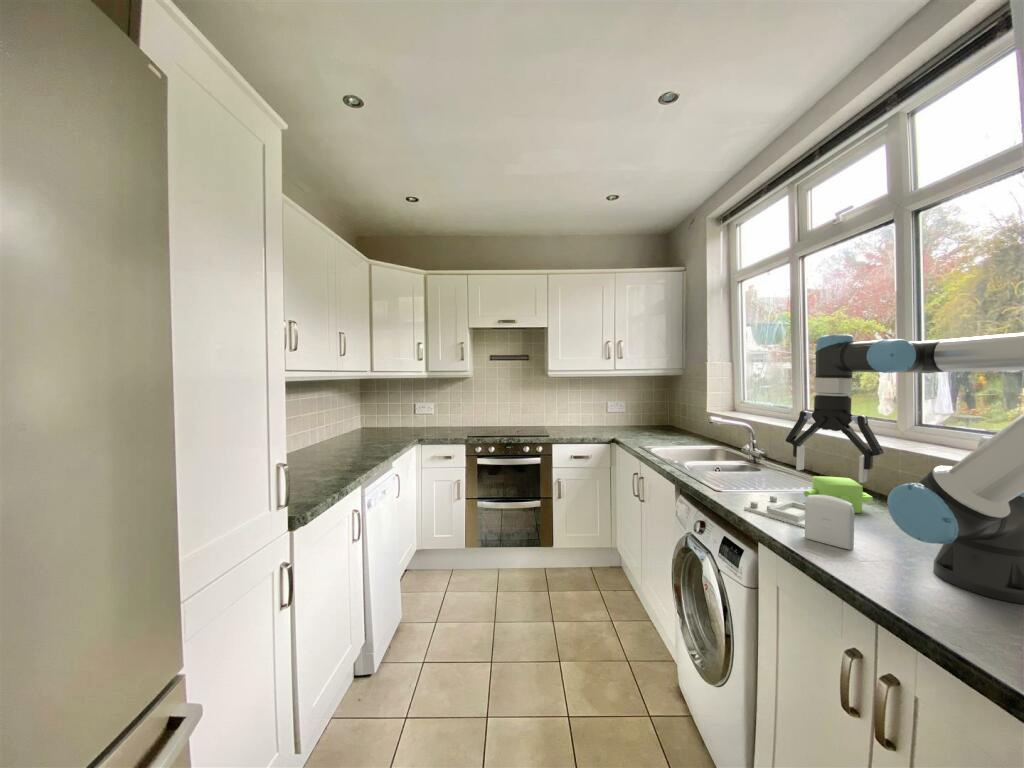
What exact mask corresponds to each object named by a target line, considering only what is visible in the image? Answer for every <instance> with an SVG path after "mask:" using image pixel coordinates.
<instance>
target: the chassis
mask: <svg viewBox="0 0 1024 768" xmlns="http://www.w3.org/2000/svg"><path fill="white" fill-rule="evenodd" d="M743 510H745V511H747V512H750V511H751V513H754V514H758V515H760V514H761V515H760V516H763V515H764V516H763V517H767V518H770V517H771V519H773V518H774V520H777V519H778V521H780V520H781V522H783V521H784V523H787V522H788V523H787V524H790V523H791V524H790V525H793V524H794V526H797V525H798V526H797V527H800V526H801V528H803V527H804V529H805V503H802V502H798V501H794V500H789V501H786V502H782V501H779V500H778V497H777V496H769V498H767V499H765V500H763V501H759V502H755V501H751V502H750V504H749V505H745V506H744V508H743Z"/></svg>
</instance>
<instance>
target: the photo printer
mask: <svg viewBox="0 0 1024 768" xmlns="http://www.w3.org/2000/svg"><path fill="white" fill-rule="evenodd" d="M804 504H805V528H804V538H805V539H807V540H809V541H815V542H818V543H822V544H826V545H829V546H833V547H837V548H840V549H845V550H849V551H851V550H853V549H854V548H855V513H854V509H853V505H852V504H851V503H849V502H847V501H845V500H842V499H839V498H836V497H832V496H827V495H808V496H807V497H806V499H805V503H804Z"/></svg>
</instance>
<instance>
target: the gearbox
mask: <svg viewBox="0 0 1024 768" xmlns="http://www.w3.org/2000/svg"><path fill="white" fill-rule="evenodd" d="M803 495H804V497H806V498H807V496H808V495H827V496H832V497H836V498H839V499H842V500H845V501H847V502H849V503H851V504H852V505H853V509H854V514H855V513H857V514H859V513H861V514H862V513H863V503H873V500H874V498H873V496H872V495H870V494H868V493H867V492H864V491H863V485H861V484H860V482H857V481H856V480H853V479H852V478H849V477H840V476H839V477H838V476H837V477H836V476H822V475H820V476H817V475H814V476H812V489H808V490H805V491H803Z"/></svg>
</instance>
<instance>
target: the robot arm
mask: <svg viewBox="0 0 1024 768" xmlns="http://www.w3.org/2000/svg"><path fill="white" fill-rule="evenodd" d="M854 338H855V337H854V336H853V335H851V334H832V335H831V334H827V335H821V336H819V337H818V338H817V340H816V347H815V352H814V353H815V374H814V375H815V376H814V391H813V392H814V393H815V395H814V397H813V398H814V401H813V412H811V411H809V410H801V411H800V412H799V417H798V419H797V420H796V422H795V424H794V426H793V427H792V429H791V431H790V432H789V434H788V435H787V436H786V438H785V442H786V443H789V444H791V445H792V447H793V448H792V449H793V451H792V456H793V458H796V465H795V466H796V467H795V468H796V469H795V470H796V471H802V470H804V469H805V455H806V453H805V452H806V446H805V445H803V444H804V443H805V442H806V441H807V440H808V439H810V438H811V437H812V436H813V435H814V434H815V433H816V432H818V431H819V430H822V431H824V430H826V431H828V430H831V431H834V432H839V431H840V432H841V433H843V434H844V435H845V436H846V437H847V438H848V440H850V442H852V444H853V445H854V446H855V447H856V448H857V449H858V451H860V452H861V453H862V455H859V459H858V460H859V461H858V463H859V464H858V466H859V467H858V483H862V484H863V483H866V482H867V481H868V471H871V470H872V469H873V461H874V456H881V455H883V454H884V450H883V448H882V446H881V445H880V443H879V441H878V440H877V438H876V435H875V434H874V432H873V430H872V429H871V427H870V426H869V422H868V421H869V420H868V416H867V415H865V414H863V415H853V414H852V396H850V395H852V392H853V391H852V387H853V373H884V374H888V373H889V374H890V373H892V374H893V373H916V374H934V373H952V372H954V373H955V372H959V373H960V372H964V373H965V372H1002V371H1003V372H1005V371H1008V372H1011V371H1016V372H1017V371H1024V332H1017V333H1016V332H1015V333H1004V334H1003V333H1002V334H993V335H992V334H991V335H981V336H971V337H968V336H967V337H959V338H947V339H934V340H933V339H931V340H921V341H920V340H919V341H918V340H917V341H916V340H915V341H914V340H913V341H912V340H910V341H908V340H906V339H903V338H883V339H878V340H877V339H876V340H868V341H867V340H866V341H865V340H863V341H855V339H854ZM811 418H812V419H813V420H814V423H813V424H811V425H810V427H809V428H808V429H806V430H805V431H804V432H803V433H802V434H801V435H800V436H799V434H800V433H801V431H802V429H804V427H805V425H806V424H807V422H808V420H810V419H811ZM852 422H854V424H856V425H857V426H858V429H859V430H860V433H862V435H863V438H864V439H865V441H866V442H865V441H864V440H863V439H862V438H861V437H860V436H859V435H858V433H856V432H855V431H854V429H853V427H852V426H851V425H850V424H851V423H852ZM798 436H799V437H798ZM886 503H887V506H888V512H889V515H890V517H891V519H892V521H893V522H894V523H895V524H896V526H897V527H898V528H899V529H900V530H901V531H902V532H903V533H905V534H906V535H908V536H910V537H911V538H912V539H915V540H917V541H920V542H923V543H925V544H926V543H927V544H936V545H937V544H938V545H941V547H940V549H939V551H938V552H937V554H936V556H935V557H934V560H933V567H932V569H933V573H934V574H935V575H936V576H937V577H939V578H940V579H941V580H944V581H945V582H947V583H949V584H951V585H954V586H956V587H958V588H960V589H964V590H966V591H969V592H971V593H972V592H973V593H974V594H978V595H982V596H985V597H989V598H992V599H996V600H999V601H1005V602H1010V603H1015V604H1023V605H1024V412H1023V413H1021V415H1019V416H1018V417H1017V418H1015V419H1014V420H1013V421H1011V422H1010V423H1009V424H1007V425H1006V426H1005V427H1003V428H1002V429H1001V430H999V431H998V432H996V433H995V434H994V435H993V436H991V437H990V438H989V439H988V440H986V441H985V442H984V443H982V444H981V445H979V446H978V447H977V448H976V449H974V450H973V451H972V452H970V453H969V454H968V455H966V456H965V457H963V458H962V459H961V460H960V461H958V462H956V464H954V465H953V466H952V465H938V466H936V467H935V468H933V469H932V470H930V471H929V472H928V473H926V474H925V475H924V476H923V477H921V478H920V479H919V480H917V481H916V482H905V483H903V484H899V485H897V486H895V487H893V488H892V490H891V491H890V492H889V494H888V496H887V501H886Z"/></svg>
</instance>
